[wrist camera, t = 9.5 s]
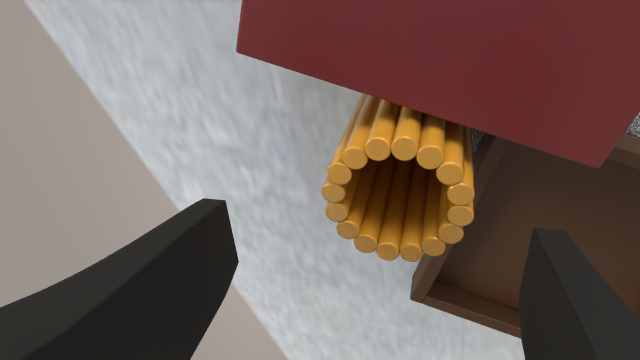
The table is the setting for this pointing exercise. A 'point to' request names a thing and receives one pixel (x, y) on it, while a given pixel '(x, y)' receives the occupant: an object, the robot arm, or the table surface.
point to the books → (471, 61)
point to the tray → (536, 212)
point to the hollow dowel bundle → (401, 181)
